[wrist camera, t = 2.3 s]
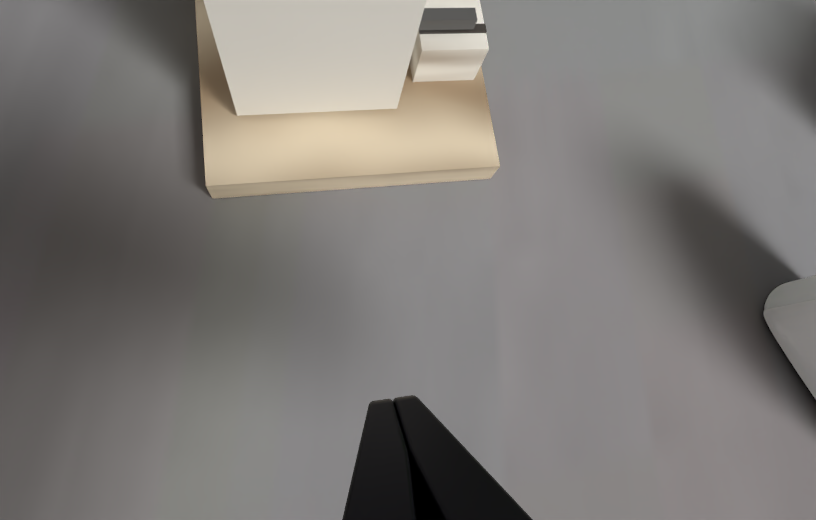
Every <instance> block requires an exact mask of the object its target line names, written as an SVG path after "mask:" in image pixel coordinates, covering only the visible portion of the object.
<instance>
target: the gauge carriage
mask: <svg viewBox="0 0 816 520" xmlns="http://www.w3.org/2000/svg"><path fill="white" fill-rule="evenodd" d="M203 1H204V4H205V7H206V11H207V14H208V18H209V21H210V25H211V28H212V31H213V35H214V38H215V42H216V45H217V48H218V52H219V55H220V59H221V62H222V66H223V69H224V72H225V76H226V79H227V83H228V86H229V89H230V93H231V96H232V100H233V103H234V107H235V110H236V113H237V116H241V115H264V114H286V113H309V112H331V111H354V110H376V109H397V107H398V103H399V99H400V96H401V92H402V88H403V85H404V81H405V77H406V74H407V70H408V66H409V63H410V59H411V55H412V52H413V48H414V44H415V41H416V37H417V33H418V30H463V29H474V27H475V25H476V22H477V15H476V9H475V8H425V4H426V0H203Z"/></svg>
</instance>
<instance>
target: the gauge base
mask: <svg viewBox="0 0 816 520" xmlns="http://www.w3.org/2000/svg"><path fill="white" fill-rule="evenodd" d="M195 8H196V25H197V43H198V60H199V77H200V94H201V112H202V129H203V146H204V164H205V181H206V187H207V189H208V191H209V193H210V195H211V197H212V198H213V199H214V198H228V197H242V196H256V195H270V194H284V193H298V192H312V191H326V190H340V189H354V188H368V187H381V186H395V185H409V184H423V183H437V182H451V181H465V180H479V179H490V178H491V177H492V176H493V174H494V173H495V172H496V171H497V169H498V168H499V167H500V163H499V158H498V153H497V147H496V142H495V137H494V131H493V126H492V121H491V116H490V110H489V105H488V100H487V94H486V89H485V84H484V78H483V73H482V68H481V64H482V62H483V60H484V58H485V56H486V54H487V52H488V50H489V47H488V41H487V36H486V32H487V31H486V26H485V24H484V21H483V16H482V10H481V5H480V0H426V4H425V8H475V9H476V15H477V22H476V25H475V27H474V29H463V30H418V33H417V37H416V41H415V44H414V48H413V52H412V55H411V59H410V63H409V66H408V70H407V74H406V77H405V81H404V85H403V88H402V92H401V96H400V99H399V103H398V107H397V109H376V110H354V111H331V112H309V113H286V114H264V115H241V116H237V113H236V110H235V107H234V103H233V100H232V96H231V93H230V89H229V86H228V83H227V79H226V76H225V72H224V69H223V66H222V62H221V59H220V55H219V52H218V48H217V45H216V42H215V38H214V35H213V31H212V28H211V25H210V21H209V18H208V14H207V11H206V7H205V4H204V1H203V0H195Z"/></svg>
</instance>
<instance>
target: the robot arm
mask: <svg viewBox="0 0 816 520" xmlns="http://www.w3.org/2000/svg"><path fill="white" fill-rule="evenodd" d="M342 520H532V519H531V517H530V516H529V515H528V514H527V513H526V512H525V511H524V510H523V509H522V508H521V507H520V506H519V505H518V504H517V503H516V502H515V501H514V499H513V498H512V497H511V496H510V495H509V494H508V493H507V492H506V491H505V490H504V489H503V488H502V487H501V486H500V485H499V484H498V482H497V481H496V480H495V479H494V478H493V477H492V476H491V475H490V474H489V473H488V472H487V471H486V470H485V469H484V468H483V467H482V465H481V464H480V463H479V462H478V461H477V460H476V459H475V458H474V457H473V456H472V455H471V454H470V453H469V452H468V451H467V450H466V448H465V447H464V446H463V445H462V444H461V443H460V442H459V441H458V440H457V439H456V438H455V437H454V436H453V435H452V434H451V433H450V432H449V430H448V429H447V428H446V427H445V426H444V425H443V424H442V423H441V422H440V421H439V420H438V419H437V418H436V417H435V416H434V415H433V413H432V412H431V411H430V410H429V409H428V408H427V407H426V406H425V405H424V404H423V403H422V402H421V401H420V400H419V399H418V398H417V397H416V396H413V395H411V396H404V397H397V398H395V399H394V400H393V401H392V400H391V399H384V400H377V401H372V402H370V404H369V407H368V411H367V415H366V420H365V424H364V428H363V433H362V437H361V441H360V446H359V450H358V454H357V459H356V463H355V467H354V472H353V476H352V480H351V485H350V489H349V493H348V498H347V502H346V506H345V511H344V515H343V519H342Z"/></svg>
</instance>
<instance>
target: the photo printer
mask: <svg viewBox="0 0 816 520" xmlns="http://www.w3.org/2000/svg"><path fill="white" fill-rule="evenodd" d="M763 314H764V318H765V320H766V322H767V324H768V326H769V328H770V330H771V332H772V334H773V335H774V337H775V339H776V340H777V342H778V343H779V345H780V347H781V348H782V350H783V351H784V353H785V354H786V356H787V357H788V359H789V361H790V362H791V364H792V365H793V367H794V368H795V370H796V371H797V373H798V374H799V376H800V377H801V379H802V380H803V382H804V383H805V385H806V386H807V388H808V389H809V390H810V392H811V393H812V395H813V396H814V398H815V399H816V275H814V276H810V277H807V278H803V279H799V280H795V281H791V282H787V283H784V284H781V285H780V286H778V287H777V288H775V289H774V290H773V291H772V292H771V293H770V294H769V296H768V298H767V300H766V303H765V306H764V312H763Z"/></svg>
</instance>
